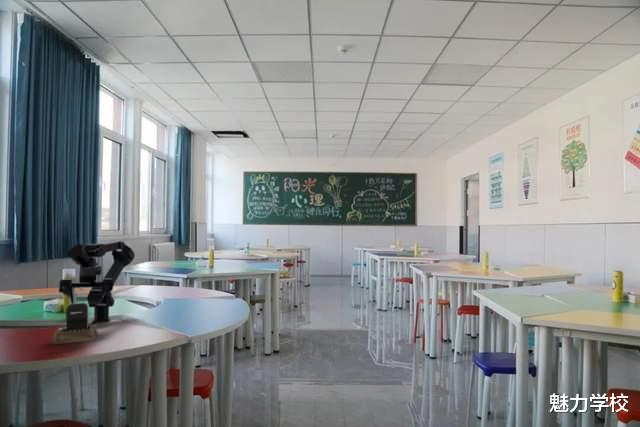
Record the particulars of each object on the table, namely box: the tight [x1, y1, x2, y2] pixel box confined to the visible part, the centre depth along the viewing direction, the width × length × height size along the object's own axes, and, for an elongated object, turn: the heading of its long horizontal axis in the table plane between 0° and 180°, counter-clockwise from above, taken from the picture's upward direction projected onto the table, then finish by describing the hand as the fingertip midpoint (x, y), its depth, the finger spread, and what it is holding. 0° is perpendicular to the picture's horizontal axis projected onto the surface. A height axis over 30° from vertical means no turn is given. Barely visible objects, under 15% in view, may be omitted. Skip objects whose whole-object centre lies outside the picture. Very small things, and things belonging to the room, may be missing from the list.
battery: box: [65, 302, 89, 332], centre depth 147 cm, size 7×4×11 cm, turn 114°
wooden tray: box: [51, 324, 99, 346], centre depth 147 cm, size 10×13×4 cm
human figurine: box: [57, 276, 88, 305], centre depth 187 cm, size 12×4×18 cm, turn 126°
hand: (86, 303), depth 155 cm, fingers open, 9 cm apart
